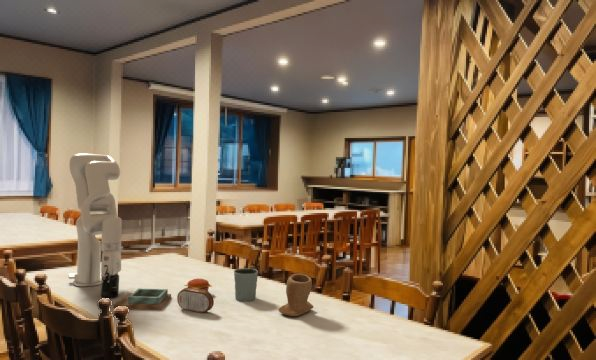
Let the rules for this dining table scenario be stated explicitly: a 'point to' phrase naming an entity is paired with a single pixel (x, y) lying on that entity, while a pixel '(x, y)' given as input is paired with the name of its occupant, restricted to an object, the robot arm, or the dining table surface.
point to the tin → (195, 300)
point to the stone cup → (297, 295)
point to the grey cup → (245, 284)
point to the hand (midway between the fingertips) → (110, 288)
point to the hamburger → (199, 284)
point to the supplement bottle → (114, 287)
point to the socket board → (144, 299)
